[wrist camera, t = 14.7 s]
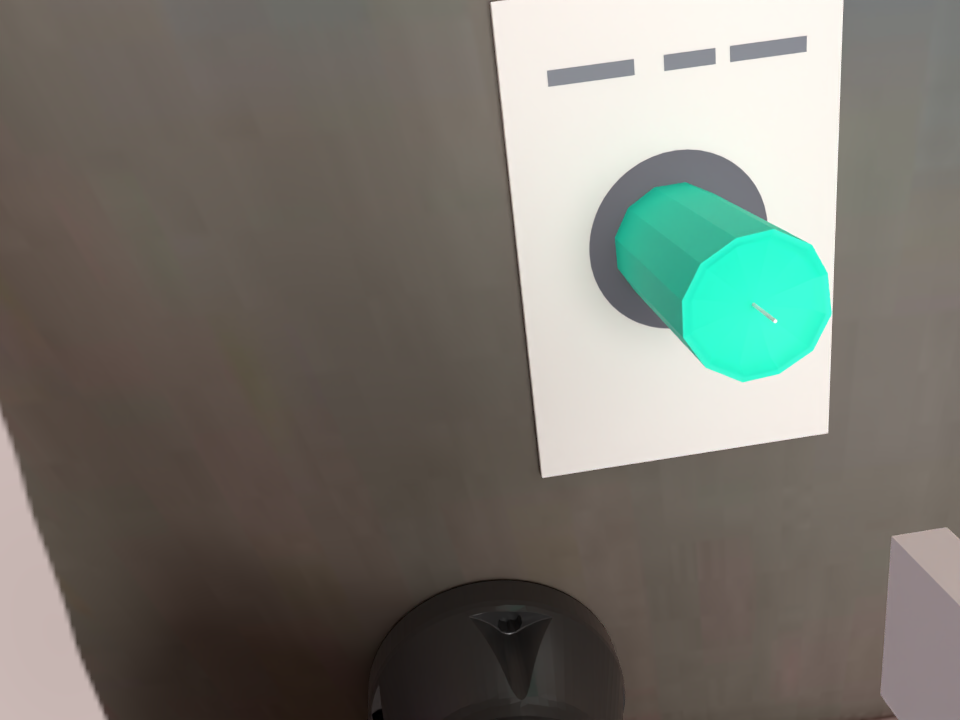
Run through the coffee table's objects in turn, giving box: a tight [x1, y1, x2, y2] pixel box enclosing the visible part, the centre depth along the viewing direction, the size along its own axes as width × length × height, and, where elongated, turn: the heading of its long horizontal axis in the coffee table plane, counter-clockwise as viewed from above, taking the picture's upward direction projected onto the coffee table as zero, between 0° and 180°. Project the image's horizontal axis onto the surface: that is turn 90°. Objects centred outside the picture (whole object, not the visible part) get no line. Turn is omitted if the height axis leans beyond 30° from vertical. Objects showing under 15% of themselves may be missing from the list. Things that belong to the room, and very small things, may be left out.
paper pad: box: [490, 0, 843, 478], centre depth 42 cm, size 24×16×1 cm, turn 7°
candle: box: [615, 182, 832, 382], centre depth 37 cm, size 6×6×12 cm
